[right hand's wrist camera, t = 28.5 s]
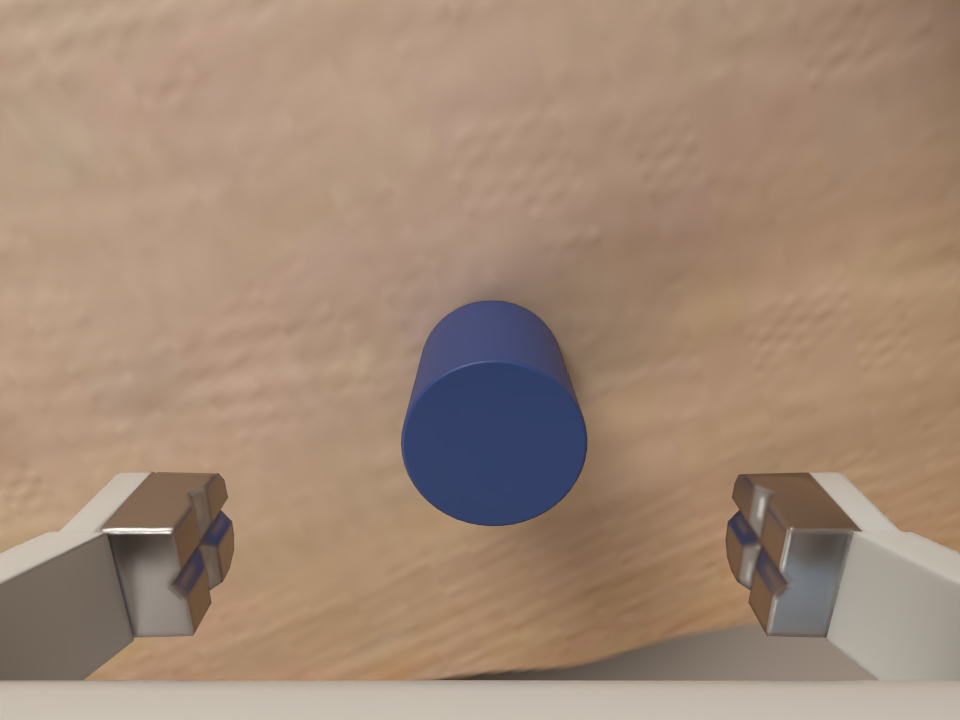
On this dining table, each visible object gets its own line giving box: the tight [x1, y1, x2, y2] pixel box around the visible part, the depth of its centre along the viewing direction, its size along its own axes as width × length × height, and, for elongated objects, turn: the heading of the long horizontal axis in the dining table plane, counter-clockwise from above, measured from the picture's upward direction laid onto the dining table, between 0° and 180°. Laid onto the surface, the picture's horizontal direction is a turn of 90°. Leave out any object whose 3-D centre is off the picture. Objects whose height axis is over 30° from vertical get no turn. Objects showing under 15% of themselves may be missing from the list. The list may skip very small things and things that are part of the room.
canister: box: [401, 301, 587, 526], centre depth 15 cm, size 4×4×5 cm
